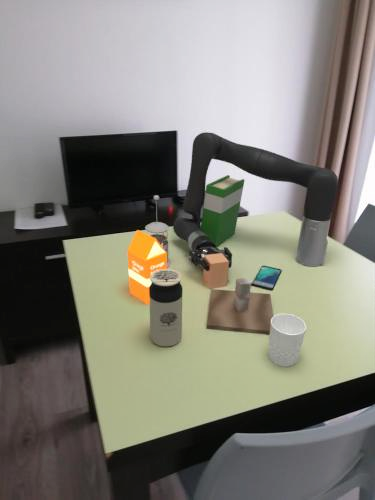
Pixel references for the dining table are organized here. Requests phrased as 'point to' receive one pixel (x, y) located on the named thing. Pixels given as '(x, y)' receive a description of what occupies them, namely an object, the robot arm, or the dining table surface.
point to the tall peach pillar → (216, 270)
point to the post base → (240, 319)
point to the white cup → (285, 339)
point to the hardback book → (221, 209)
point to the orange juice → (144, 263)
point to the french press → (159, 228)
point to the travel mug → (165, 307)
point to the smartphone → (266, 278)
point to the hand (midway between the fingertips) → (219, 266)
